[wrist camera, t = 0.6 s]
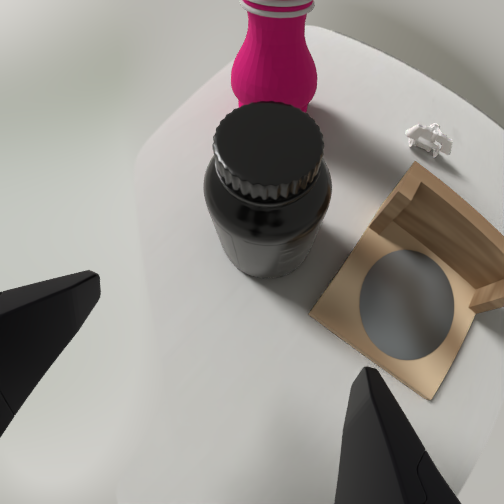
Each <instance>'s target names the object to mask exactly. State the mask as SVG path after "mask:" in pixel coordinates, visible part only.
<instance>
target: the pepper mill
mask: <svg viewBox="0 0 504 504" xmlns="http://www.w3.org/2000/svg"><path fill="white" fill-rule="evenodd" d="M240 5H241V6H242V7H243V8H244V9H245V10H247V13H248V18H249V21H248V31H247V35H246V38H245V41H244V43H243V45H242V47H241V49H240V50H239V52H238V54H237V56H236V58H235V61H234V64H233V67H232V71H231V86H232V90H233V92H234V94H235V96H236V97H237V98H238V100H239V101H238V102H239V108H240V107H241V106H242V105H248V104H250V103H252V102H259V101H275V102H283V103H285V104H291V105H292V106H294V107H296V108H300V109H301V110H302V111H303V112H305V113H306V112H307V106H308V103H309V102H310V101H311V100H312V98H313V96H314V94H315V92H316V88H317V72H316V67H315V63H314V61H313V58H312V56H311V54H310V52H309V50H308V48H307V45H306V41H305V36H304V32H305V19H306V15H307V13H309V12H310V11H312V10H313V8H314V6H315V5H314V1H313V0H240Z"/></svg>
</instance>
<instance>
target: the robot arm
mask: <svg viewBox="0 0 504 504" xmlns="http://www.w3.org/2000/svg"><path fill="white" fill-rule="evenodd" d="M100 292H101V291H100V277H99V275H98V274H97V273H95V272H93V271H90V270H87V271H83V272H79V273H74V274H70V275H66V276H62V277H58V278H54V279H50V280H46V281H42V282H38V283H34V284H30V285H26V286H22V287H18V288H14V289H10V290H7V291H3V292H0V437H1V436H2V434H3V433H4V431H5V430H6V428H7V427H8V425H9V424H10V422H11V421H12V419H13V418H14V415H16V413H17V412H18V410H19V409H20V407H21V406H22V405H23V403H24V402H25V400H26V399H27V397H28V396H29V395H30V393H31V392H32V391H33V389H34V388H35V387H36V385H37V384H38V382H39V381H40V380H41V378H42V377H43V376H44V374H45V373H46V372H47V370H48V369H49V368H50V366H51V365H52V364H53V362H54V361H55V360H56V359H57V357H58V356H59V354H61V352H62V351H63V350H64V348H65V347H66V346H67V345H68V343H69V342H70V341H71V340H72V338H73V337H74V336H75V334H76V333H77V332H78V331H79V329H80V328H81V326H82V325H83V323H84V321H85V320H86V319H87V317H88V315H89V314H90V312H91V311H92V309H93V308H94V306H95V305H96V303H97V302H98V300H99V298H100V294H101V293H100ZM334 504H461V503H460V501H459V500H458V498H457V497H456V496H455V494H454V493H453V491H452V490H451V488H450V487H449V486H448V484H447V483H446V481H445V480H444V478H443V477H442V475H441V474H440V472H439V471H438V469H437V468H436V466H435V464H434V463H433V461H432V459H431V458H430V456H429V454H428V452H427V451H425V447H424V446H423V444H422V442H421V441H420V439H419V437H418V436H417V434H416V432H415V431H414V429H413V427H412V425H411V424H410V422H409V420H408V419H407V417H406V415H405V414H404V412H403V411H402V409H401V407H400V406H399V404H398V402H397V401H396V399H395V397H394V396H393V394H392V393H391V391H390V389H389V388H388V386H387V385H386V383H385V381H384V380H383V378H382V377H381V375H380V373H379V372H378V370H377V369H375V368H371V367H364V368H363V369H362V370H361V372H360V373H359V375H358V376H357V378H356V379H355V381H354V382H353V384H352V386H351V390H350V396H349V401H348V407H347V412H346V417H345V422H344V427H343V435H342V445H341V455H340V465H339V473H338V481H337V489H336V496H335V503H334Z"/></svg>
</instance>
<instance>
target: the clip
mask: <svg viewBox="0 0 504 504" xmlns="http://www.w3.org/2000/svg"><path fill="white" fill-rule="evenodd" d="M406 136H407V137H409V147H412V145H414V146H418V147H420V148H422V149H425V150H427V152H430V151H431V149H432V148H433V149H434V150H433V157H434V158H435V157H436V156H437V155H438V154H439V151H441V152H443V153H445V154H447V155H450V153H451V148H452V142H453V140H452V139H451V138H449V137H447V135H445V134H443V133H442V132H441V131H440V125H438V124H436V123H433V124H432V125H431V126H429V127H428V126H423V125H421V124H417V125H415V126H414V127H412V128H410V129H408V130H406ZM414 140H415V141H414ZM435 140H436V141H437V142H439V143H441V145H442V146H441V149H439V145H438V144H437V145H435V144H434V142H435Z"/></svg>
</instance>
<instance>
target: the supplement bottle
mask: <svg viewBox="0 0 504 504" xmlns="http://www.w3.org/2000/svg"><path fill="white" fill-rule="evenodd" d="M322 139H323V135H322V133H321V132H320V128H319V126H318V125H316V124H315V121H314V120H313V119H312V118H310V117H309V115H308V114H307V113H305V112H303V111H302V110H301V109H300V108H296V107H294V106H292V105H291V104H285V103H283V102H275V101H259V102H252V103H250V104H248V105H242V106H241V107H240V108H237V109H234V110H233V111H232V112H231V113H229V114H227V115H226V117H225V119H223V120H222V121H220V125H219V126H218V127H217V128H216V133H215V135H214V136H213V140H214V143H213V151H214V156H213V158H212V159H211V161H210V163H209V165H208V167H207V170H206V173H205V177H204V196H205V201H206V204H207V207H208V210H209V213H210V216H211V218H212V221H213V223H214V226H215V229H216V231H217V234H218V236H219V239H220V242H221V244H222V247H223V249H224V251H225V253H226V255H227V257H228V258H229V260H230V261H231V262H232V263H233V264H234V266H236V267H237V268H238V269H239V270H241V271H242V272H244V273H246V274H248V275H250V276H253V277H258V278H277V277H280V276H283V275H286V274H288V273H290V272H292V271H293V270H295V269H296V268H297V267H298V266H299V265H300V264H301V263H302V262H303V261H304V260H305V258H306V257H307V255H308V253H309V251H310V249H311V247H312V244H313V242H314V240H315V238H316V235H317V233H318V231H319V228H320V226H321V224H322V221H323V219H324V217H325V214H326V212H327V209H328V207H329V203H330V199H331V194H332V182H331V176H330V172H329V169H328V167H327V165H326V163H325V161H324V159H323V148H324V142H323V140H322Z"/></svg>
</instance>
